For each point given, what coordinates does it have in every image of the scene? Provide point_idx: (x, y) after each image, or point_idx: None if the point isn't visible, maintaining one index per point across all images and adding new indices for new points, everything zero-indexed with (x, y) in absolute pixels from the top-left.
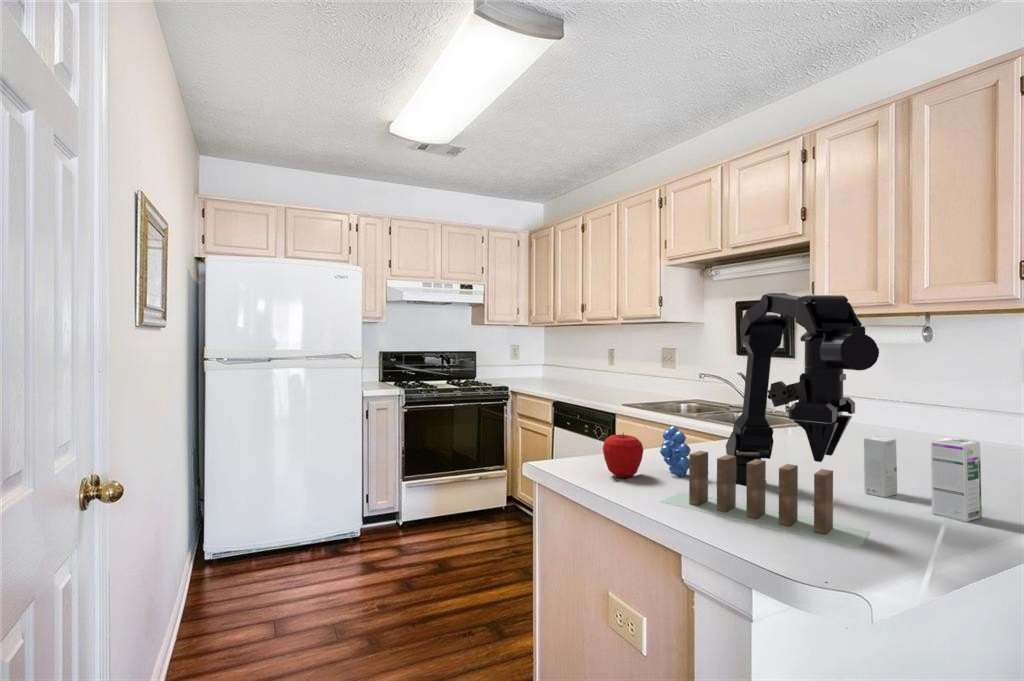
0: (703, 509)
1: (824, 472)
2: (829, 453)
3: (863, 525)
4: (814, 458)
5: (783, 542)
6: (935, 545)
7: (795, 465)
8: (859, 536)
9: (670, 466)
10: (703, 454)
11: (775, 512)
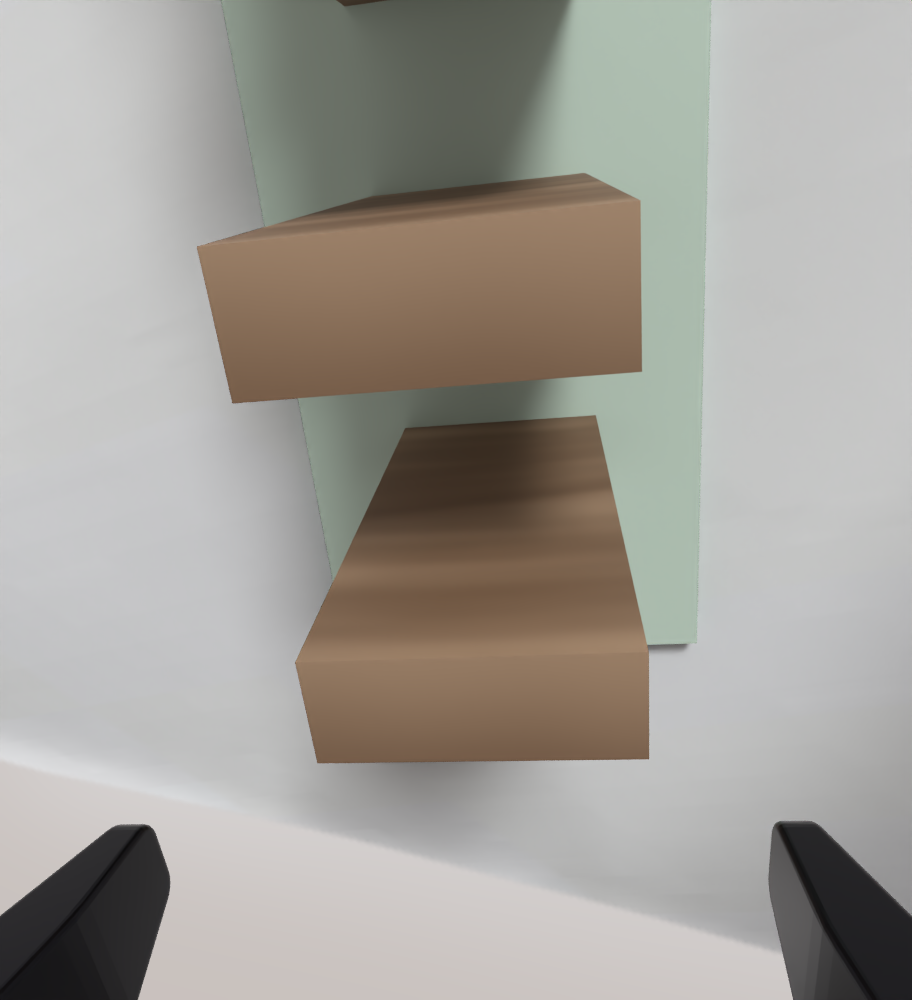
0: None
1: (468, 718)
2: (779, 891)
3: (888, 566)
4: (85, 857)
5: (142, 330)
6: (757, 848)
7: (610, 349)
8: None
9: None
10: None
11: (680, 28)
